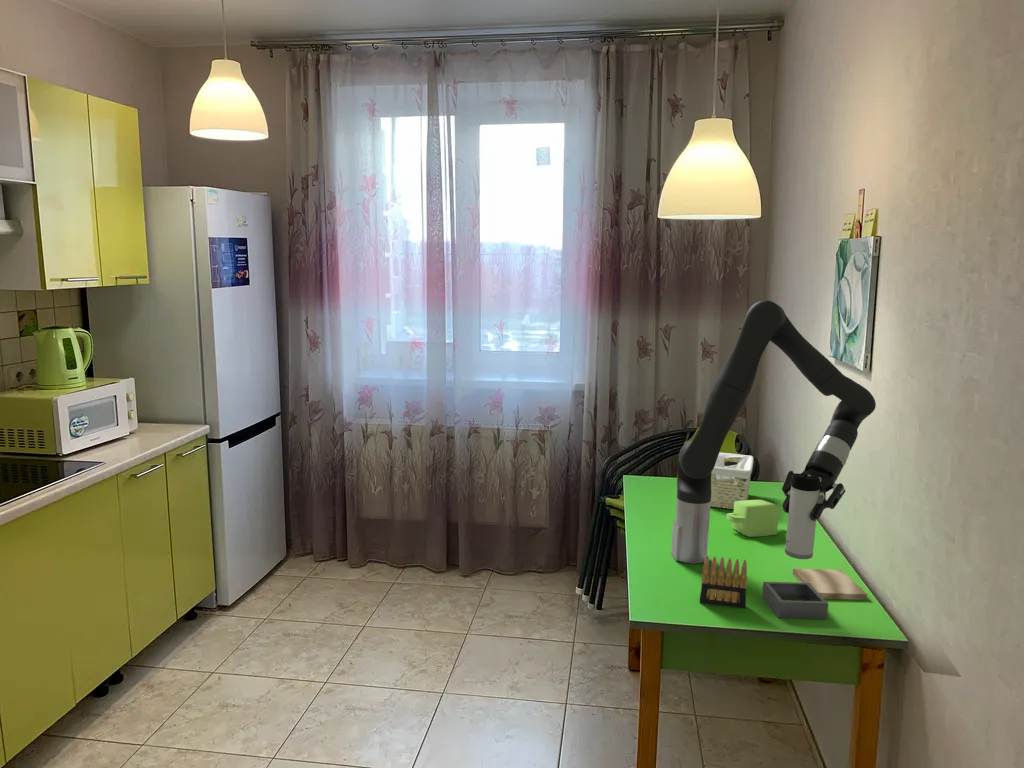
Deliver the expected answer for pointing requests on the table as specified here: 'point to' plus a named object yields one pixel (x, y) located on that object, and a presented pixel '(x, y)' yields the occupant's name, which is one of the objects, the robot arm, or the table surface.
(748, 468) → the storage basket
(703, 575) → the ammunition clip
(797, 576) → the beige wavy board
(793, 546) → the travel mug
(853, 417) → the robot arm
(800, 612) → the socket collar
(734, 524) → the lime tabbed block
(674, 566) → the table surface
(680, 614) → the table surface
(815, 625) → the table surface
